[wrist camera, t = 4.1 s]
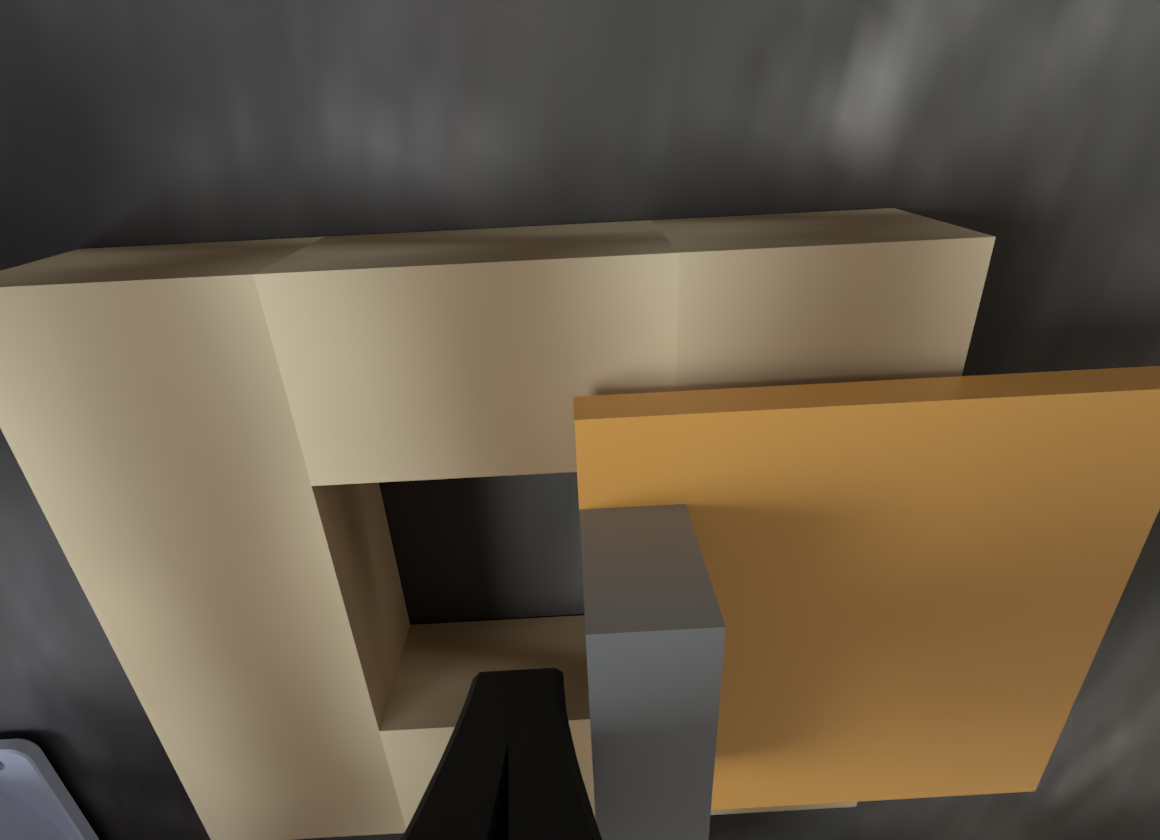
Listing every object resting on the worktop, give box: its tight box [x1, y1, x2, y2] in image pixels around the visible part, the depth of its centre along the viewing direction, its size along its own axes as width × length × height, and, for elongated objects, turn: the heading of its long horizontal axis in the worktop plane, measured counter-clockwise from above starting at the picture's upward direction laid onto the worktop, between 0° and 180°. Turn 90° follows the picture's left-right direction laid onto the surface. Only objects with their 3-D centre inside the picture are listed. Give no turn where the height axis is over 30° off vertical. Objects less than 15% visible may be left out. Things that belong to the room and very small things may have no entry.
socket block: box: [0, 208, 996, 840], centre depth 13 cm, size 15×13×3 cm
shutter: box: [573, 366, 1160, 840], centre depth 10 cm, size 9×9×3 cm
